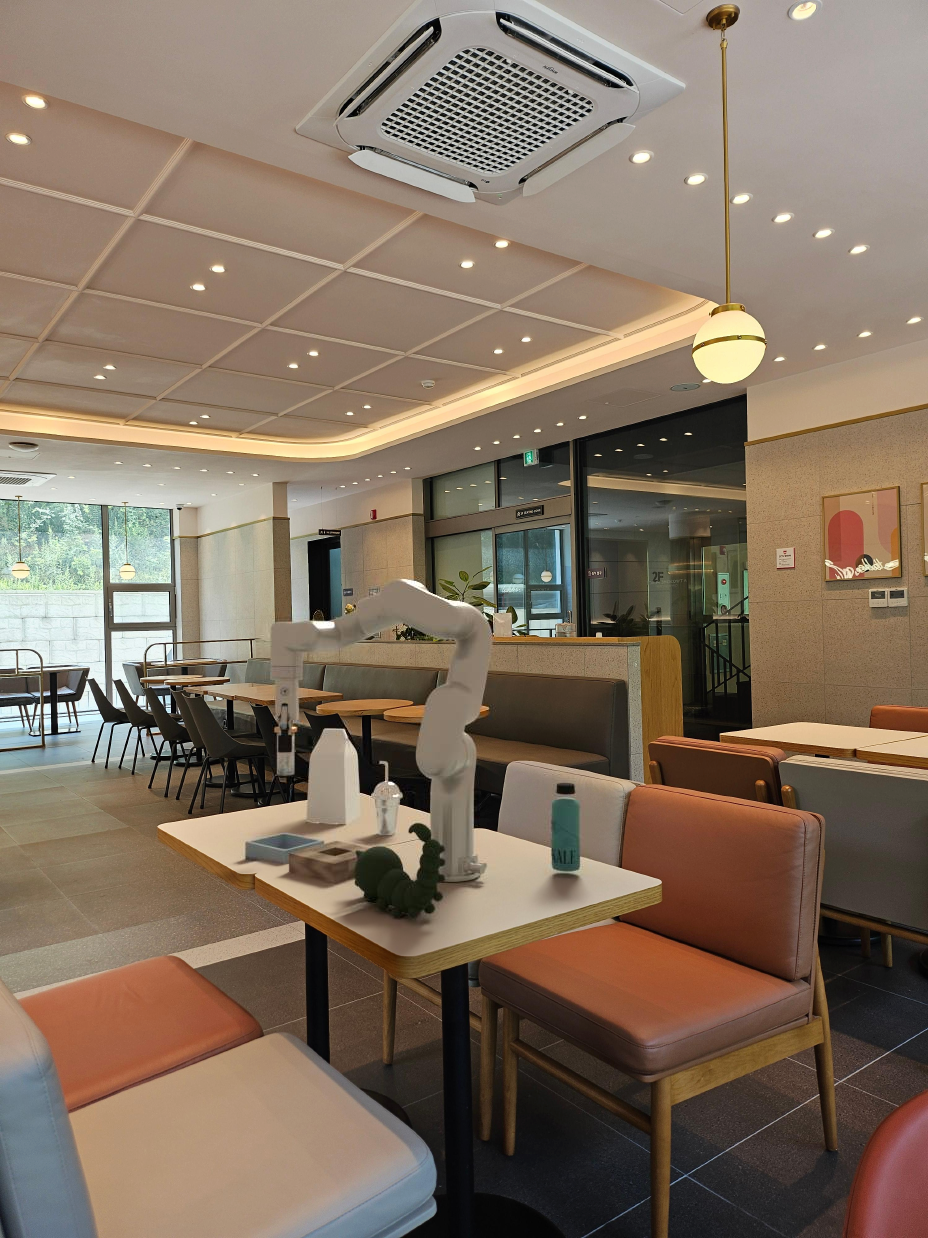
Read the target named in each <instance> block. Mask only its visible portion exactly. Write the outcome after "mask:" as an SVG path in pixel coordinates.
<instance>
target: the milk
mask: <svg viewBox="0 0 928 1238" xmlns="http://www.w3.org/2000/svg"><path fill="white" fill-rule="evenodd" d="M358 755H359V754H358V753H357V750H356V748H355V747H354V745H353V744H352V742H351V740H350V739H349V736H348V735H347V732H346V729H345V728H324V729H323V730H322V733H321V735H320V737H319V739H318V741H317V743H316V745H315V746H314V748H313V749H312V751H311V754H310V757H309V768H308V784H307V785H308V786H307V787H308V788H307V799H306V800H307V803H306V820H305V823H306V822H319V823H338V824H347V823H349V822H350V823H351V821H352V820H354V819H356V818H357V817H359V816H360V815H361V799H360V796H361V795H360V778H359V777H360V776H359V774H360V773H359V759H358ZM361 816H362V815H361ZM359 818H360V817H359ZM357 819H358V818H357ZM357 819H356V820H357ZM354 821H355V820H354ZM352 822H353V821H352ZM319 823H318V824H319ZM350 823H349V824H350ZM347 825H348V824H347Z"/></svg>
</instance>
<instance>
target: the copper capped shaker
mask: <svg viewBox="0 0 928 1238" xmlns="http://www.w3.org/2000/svg"><path fill="white" fill-rule="evenodd" d="M288 730H289V728H288ZM297 732H298V726H294V725H293V726H291V735H292V752H288V753H279V752H278V735H279V726H275V727H274V733H276V775H277V776H292V775H295V733H297Z"/></svg>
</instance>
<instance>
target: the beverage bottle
mask: <svg viewBox="0 0 928 1238" xmlns="http://www.w3.org/2000/svg"><path fill="white" fill-rule="evenodd" d="M575 787H576V786H575V784H574V783H571V782H559V783H557V784H556V791H555V793H556V794H558V795H565V797H557V798H555V799H554V800H553V801H552V803H551V818H550V819H551V820H550V821H551V822H550V824H551V825H550V830H551V841H550V844H551V848H550V849H551V851H550V852H551V853H550V854H551V862H550V863H551V867H552V869H553V870H555V871H558V872H566V873H568V872H576V871H579V870H580V867H581V839H580V838H581V837H580V835H581V834H580V833H581V831H580V824H581V823H580V822H581V821H580V818H581V817H580V815H581V813H580V812H581V811H580V810H581V809H580V807H581V804H580V802H579V801H578V800H577V799H576V798H573V797H569V796H568V795H575V794H576V789H575ZM566 795H567V797H566Z"/></svg>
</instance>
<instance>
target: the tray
mask: <svg viewBox="0 0 928 1238" xmlns="http://www.w3.org/2000/svg"><path fill="white" fill-rule="evenodd" d="M244 843H245V845H244V846H245V847H244V848H245V849H244V850H245V854H244V855H245V856H244V857H245V860H248V861H252V862H258V861H262V860H267V861H273V862H277V863H280V864H284V865H285V864H289V853H292V852H296V851H300V850H303V849H307V848H311V847H315V846H319V845H322V844H325V840H323V839H322V840H321V839H319V838H318V839H317V838H312V837H308V836H304V835H299V834H295V833H289V832H282V833H278V834H274V835H273V834H272V835H270V836H265V837H261V838H257V839H252V840H248V841H245V842H244Z"/></svg>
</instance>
